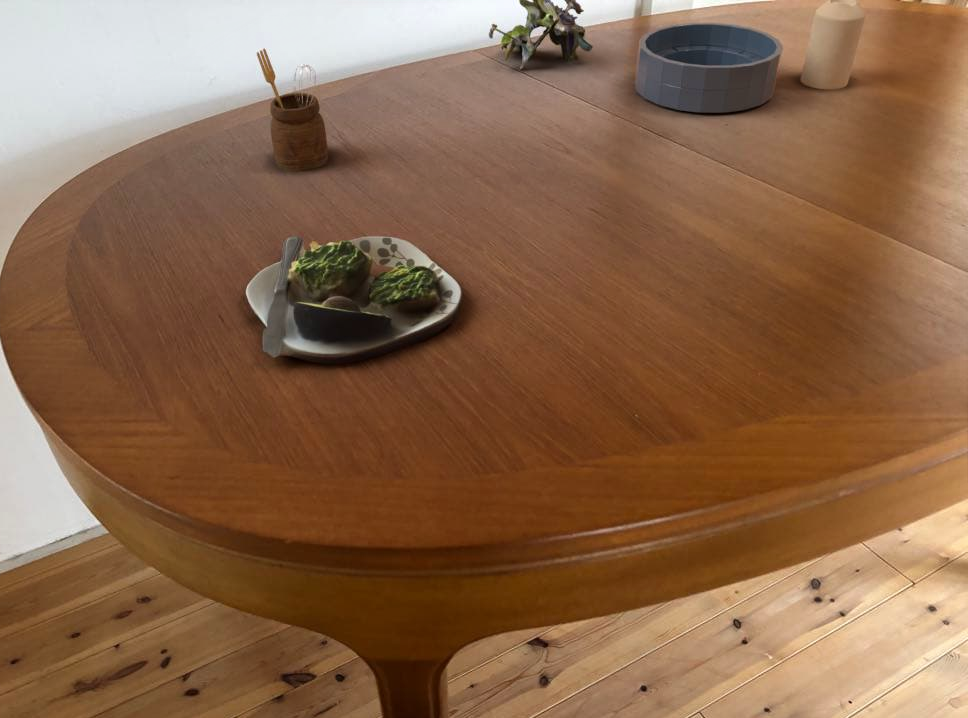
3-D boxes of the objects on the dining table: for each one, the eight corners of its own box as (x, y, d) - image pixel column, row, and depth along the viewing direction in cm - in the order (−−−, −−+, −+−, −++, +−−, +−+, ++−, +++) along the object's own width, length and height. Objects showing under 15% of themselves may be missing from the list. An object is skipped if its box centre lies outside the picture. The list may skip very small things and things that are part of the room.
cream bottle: (835, 96, 107) (857, 8, 101) (791, 86, 110) (810, 1, 104) (854, 82, 110) (876, -3, 104) (811, 73, 113) (830, -10, 107)
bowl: (759, 70, 115) (768, 22, 111) (783, 119, 102) (795, 67, 98) (630, 70, 117) (635, 23, 113) (639, 119, 104) (645, 67, 100)
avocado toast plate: (209, 278, 80) (198, 233, 77) (386, 228, 86) (383, 183, 83) (283, 394, 67) (273, 344, 64) (487, 325, 73) (487, 276, 70)
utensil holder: (313, 178, 95) (298, 65, 88) (263, 170, 98) (244, 59, 90) (339, 156, 100) (326, 46, 92) (290, 149, 102) (274, 41, 94)
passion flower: (564, 100, 124) (615, 37, 114) (505, 106, 118) (554, 40, 108) (528, 36, 126) (575, -31, 116) (469, 38, 120) (513, -32, 110)
